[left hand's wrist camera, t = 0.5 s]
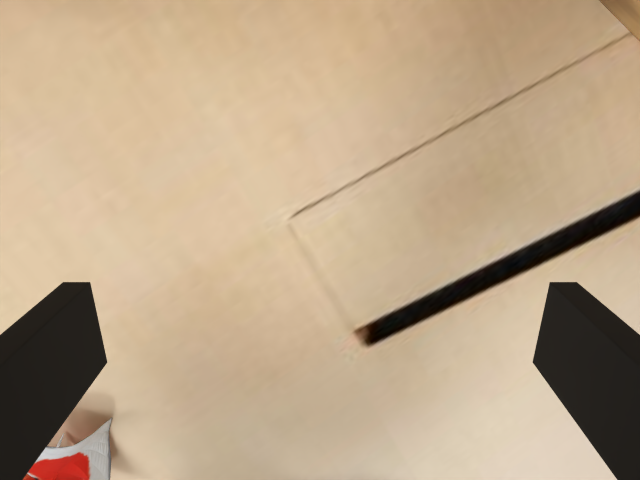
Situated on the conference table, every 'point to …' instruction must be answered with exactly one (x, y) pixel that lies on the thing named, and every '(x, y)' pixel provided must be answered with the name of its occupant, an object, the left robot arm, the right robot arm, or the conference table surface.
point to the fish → (76, 459)
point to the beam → (626, 13)
